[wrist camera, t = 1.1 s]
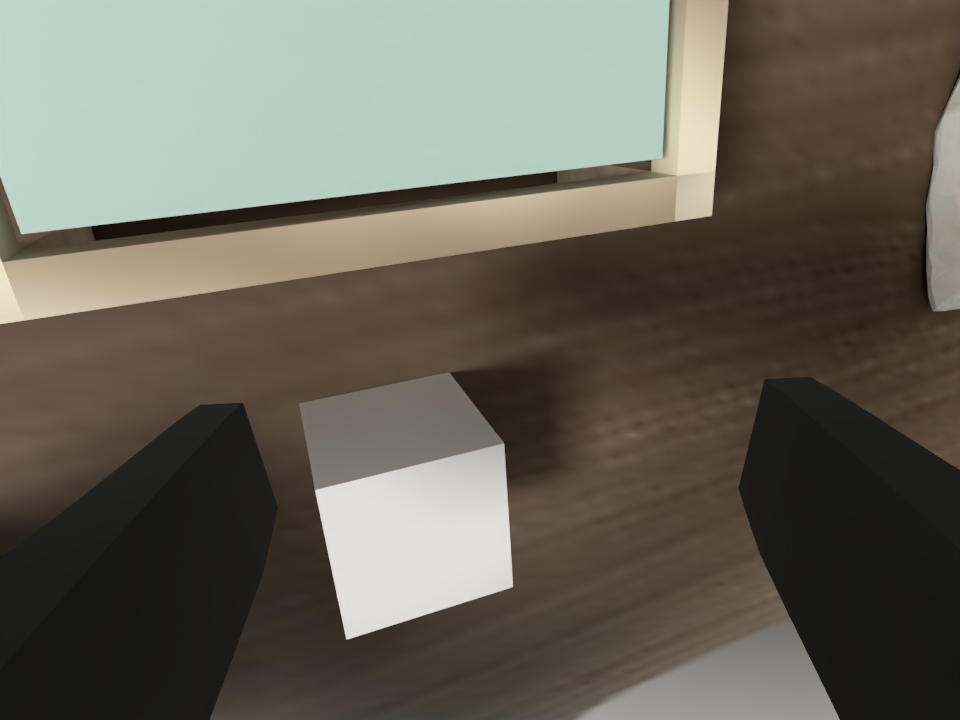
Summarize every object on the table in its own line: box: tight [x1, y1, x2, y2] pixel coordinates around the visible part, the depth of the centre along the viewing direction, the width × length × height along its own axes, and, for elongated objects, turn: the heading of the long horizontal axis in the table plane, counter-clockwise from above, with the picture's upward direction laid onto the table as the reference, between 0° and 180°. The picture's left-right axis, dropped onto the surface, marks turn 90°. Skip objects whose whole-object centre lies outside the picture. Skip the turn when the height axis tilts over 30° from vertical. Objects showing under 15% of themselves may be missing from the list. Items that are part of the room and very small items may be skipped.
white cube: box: [299, 372, 513, 640], centre depth 18 cm, size 5×5×5 cm
